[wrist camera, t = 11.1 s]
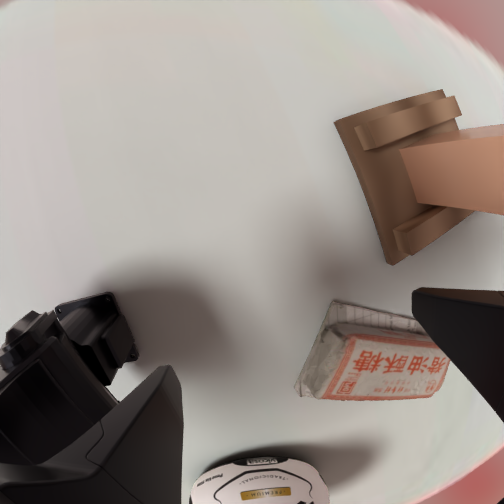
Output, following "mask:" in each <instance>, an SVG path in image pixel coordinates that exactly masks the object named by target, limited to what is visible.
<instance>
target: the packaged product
mask: <svg viewBox="0 0 504 504" xmlns="http://www.w3.org/2000/svg"><path fill="white" fill-rule="evenodd" d="M450 361H451V360H450V359H449V358H448V357H447V356H446V355H445V354H444V352H443V351H442V350H441V349H440V348H439V347H438V346H437V345H436V344H435V343H434V342H433V340H432V339H431V338H430V337H429V335H428V334H427V333H426V331H425V330H424V329H423V328H422V326H421V325H420V324H419V322H418V321H417V320H414V319H410V318H405V317H402V316H399V315H395V314H390V313H383V312H377V311H373V310H370V309H366V308H363V307H357V306H352V305H346V304H340V303H337V302H334V301H333V302H332V303H331V305H330V308H329V310H328V312H327V315H326V317H325V319H324V322H323V324H322V326H321V329H320V331H319V333H318V335H317V338H316V340H315V342H314V344H313V347H312V349H311V352H310V354H309V356H308V358H307V360H306V362H305V364H304V367H303V369H302V371H301V373H300V375H299V377H298V379H297V382H296V384H295V386H294V388H295V389H296V391H297V393H298V394H299V396H300V397H302V396H309V397H315V398H317V399H331V400H342V401H345V400H355V401H364V400H370V401H372V400H403V399H416V398H429V397H431V396H432V395H433V394H434V393H435V392H436V391H438V390H439V389H440V388H441V386H442V384H443V382H444V379H445V378H444V377H445V375H446V372H447V369H448V365H449V362H450Z"/></svg>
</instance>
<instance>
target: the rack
mask: <svg viewBox="0 0 504 504" xmlns="http://www.w3.org/2000/svg"><path fill="white" fill-rule="evenodd" d="M461 115H462V114H461V111H460V109H459V106H458V104H457V101H456V99H455V96H451V97H447V98H446V96H445V94H444V92H443V89H441V90H437V91H433V92H429V93H425V94H421V95H417V96H413V97H409V98H406V99H402V100H399V101H395V102H392V103H388V104H385V105H382V106H378V107H375V108H372V109H369V110H366V111H363V112H360V113H357V114H354V115H351V116H348V117H345V118H342V119H339V120H337V121H335V122H334V124H335V127H336V129H337V131H338V133H339V135H340V137H341V139H342V142H343V144H344V146H345V148H346V151H347V153H348V155H349V157H350V160H351V162H352V165H353V167H354V169H355V172H356V174H357V177H358V179H359V182H360V184H361V187H362V190H363V192H364V195H365V198H366V200H367V203H368V206H369V209H370V211H371V214H372V217H373V220H374V223H375V226H376V229H377V232H378V235H379V238H380V242H381V245H382V248H383V251H384V255H385V258H386V262H387V263H388V264H390V265H392V266H393V265H395V264H396V263H398V262H399V261H401V260H403V259H404V258H406V257H407V256H409V255H414V254H415V253H417V252H418V251H420V250H421V249H423V248H424V247H426V246H427V245H428V244H430V243H431V242H433V241H434V240H436V239H437V238H439V237H440V236H441V235H443V234H444V233H446V232H447V231H448V230H450V229H451V228H453V227H454V226H455V225H457V224H458V223H459V222H461V221H462V220H463V219H465V218H466V217H467V216H469V215H470V214H471V213H473V212H474V211H475V210H469V209H462V208H455V207H447V206H439V205H431V204H423V203H417V200H416V197H415V193H414V190H413V187H412V184H411V181H410V178H409V175H408V172H407V170H406V167H405V164H404V161H403V159H402V156H401V153H400V151H399V149H401V148H403V147H405V146H407V145H410V144H412V143H414V142H417V141H419V140H421V139H424V138H426V137H429V136H431V135H433V134H439V133H445V132H451V131H457V130H459V129H458V126H457V123H456V121H455V117H458V116H461Z"/></svg>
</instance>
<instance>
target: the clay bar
mask: <svg viewBox="0 0 504 504" xmlns="http://www.w3.org/2000/svg"><path fill="white" fill-rule="evenodd" d="M399 151H400V153H401V156H402V159H403V161H404V164H405V167H406V170H407V172H408V175H409V178H410V181H411V184H412V187H413V190H414V193H415V197H416V200H417V203H423V204H431V205H439V206H447V207H455V208H462V209H469V210H475V211H482V212H488V213H494V214H500V215H504V124H500V125H491V126H484V127H476V128H469V129H463V130H457V131H451V132H445V133H439V134H433V135H431V136H429V137H426V138H424V139H421V140H419V141H417V142H414V143H412V144H410V145H407V146H405V147H403V148H401V149H399Z"/></svg>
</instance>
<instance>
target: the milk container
mask: <svg viewBox="0 0 504 504" xmlns="http://www.w3.org/2000/svg"><path fill="white" fill-rule="evenodd" d="M189 504H330V500H329V492H328V488H327V486H326V484H325V482H324V480H323V478H322V477H321V475H320V474H319V473H318V471H317V470H316V469H315V468H314V467H312V466H311V465H309V464H308V463H306V462H304V461H301V460H297V459H293V458H287V457H267V456H265V457H258V458H246V459H241V460H237V461H234V462H229V463H225V464H222V465H219V466H217V467H214V468H212V469H210V470H208V471H206V472H204V473H203V474H202V475H201V476H200V477H199V478H198V479H197V480H196V482H195V483H194V485H193V487H192V490H191V494H190V499H189Z"/></svg>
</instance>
